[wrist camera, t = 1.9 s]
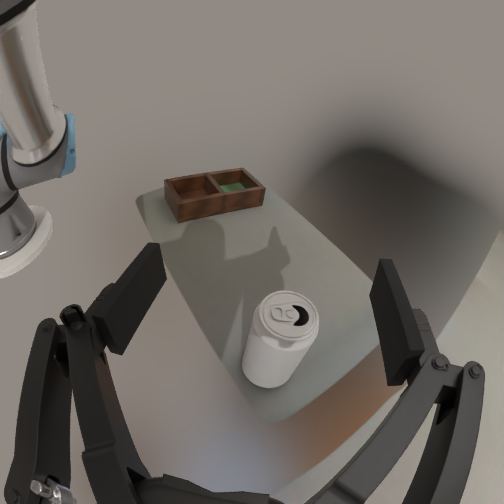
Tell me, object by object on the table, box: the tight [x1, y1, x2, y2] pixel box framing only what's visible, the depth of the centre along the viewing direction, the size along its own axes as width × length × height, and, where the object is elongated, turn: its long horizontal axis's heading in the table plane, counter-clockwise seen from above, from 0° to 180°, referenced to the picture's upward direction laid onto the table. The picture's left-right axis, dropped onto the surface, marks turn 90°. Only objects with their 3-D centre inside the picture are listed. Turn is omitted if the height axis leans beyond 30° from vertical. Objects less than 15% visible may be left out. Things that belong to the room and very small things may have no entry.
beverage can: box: [242, 291, 319, 388], centre depth 29 cm, size 6×6×12 cm
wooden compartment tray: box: [164, 168, 266, 223], centre depth 57 cm, size 19×10×4 cm, turn 119°
